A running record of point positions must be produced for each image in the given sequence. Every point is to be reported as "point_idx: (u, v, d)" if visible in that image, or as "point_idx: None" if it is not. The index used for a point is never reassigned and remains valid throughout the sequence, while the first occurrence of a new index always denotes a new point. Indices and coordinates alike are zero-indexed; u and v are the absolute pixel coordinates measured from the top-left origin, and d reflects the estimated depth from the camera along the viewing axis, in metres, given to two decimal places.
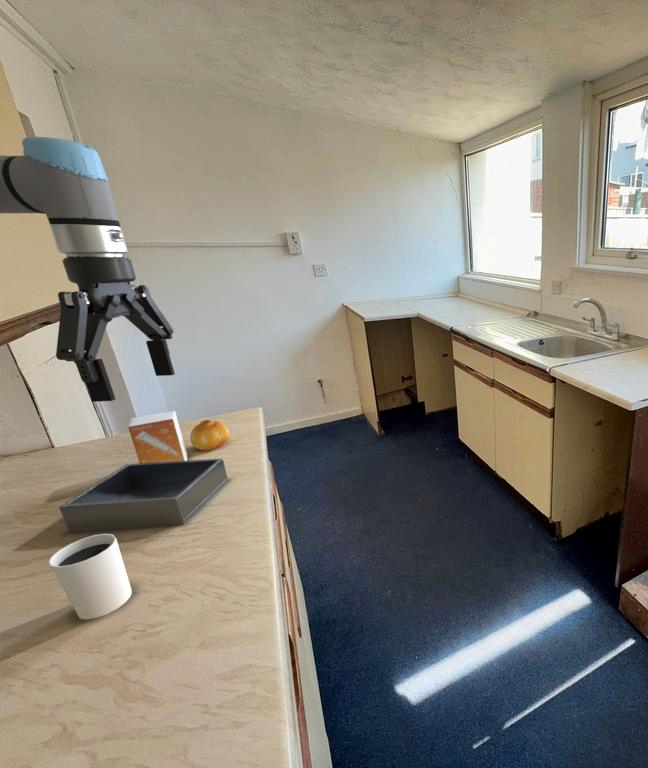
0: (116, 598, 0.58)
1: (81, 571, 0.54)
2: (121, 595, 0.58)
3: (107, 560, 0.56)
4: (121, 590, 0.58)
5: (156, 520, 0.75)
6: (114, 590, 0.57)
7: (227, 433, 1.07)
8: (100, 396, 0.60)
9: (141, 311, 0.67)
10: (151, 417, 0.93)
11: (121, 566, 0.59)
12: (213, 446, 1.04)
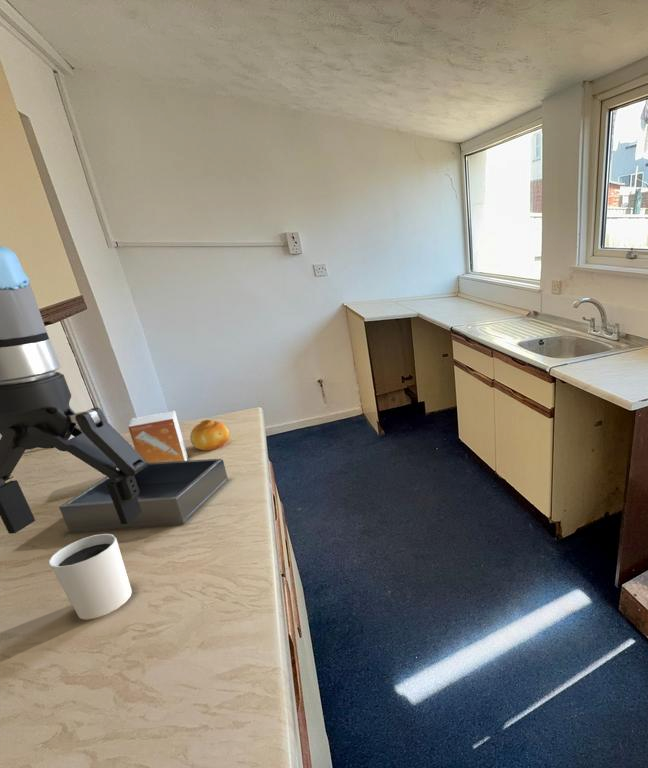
0: (116, 598, 0.58)
1: (81, 571, 0.54)
2: (121, 595, 0.58)
3: (107, 560, 0.56)
4: (121, 590, 0.58)
5: (156, 520, 0.75)
6: (114, 590, 0.57)
7: (227, 433, 1.07)
8: None
9: (60, 447, 0.50)
10: (151, 417, 0.93)
11: (121, 566, 0.59)
12: (213, 446, 1.04)
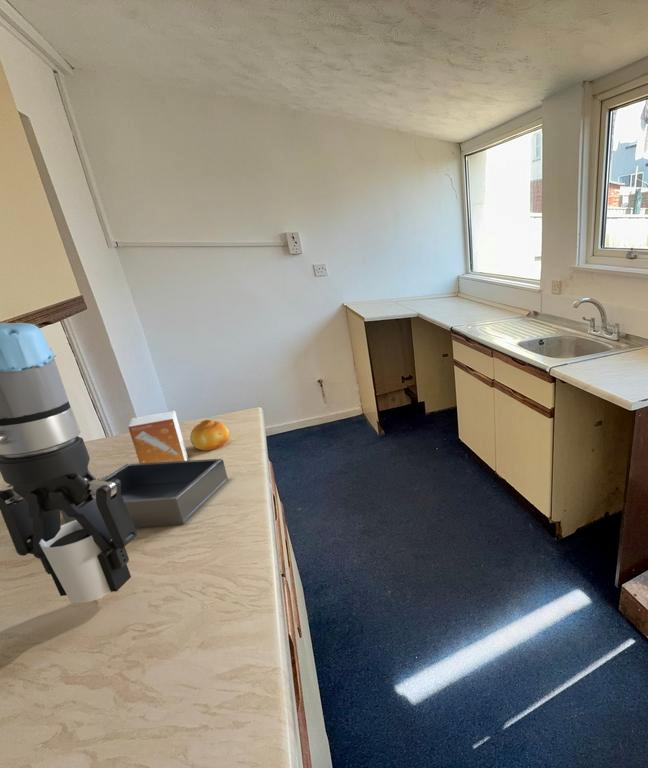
0: None
1: (72, 553, 0.53)
2: None
3: None
4: None
5: (156, 520, 0.75)
6: None
7: (227, 433, 1.07)
8: None
9: (70, 514, 0.52)
10: (151, 417, 0.93)
11: None
12: (213, 446, 1.04)
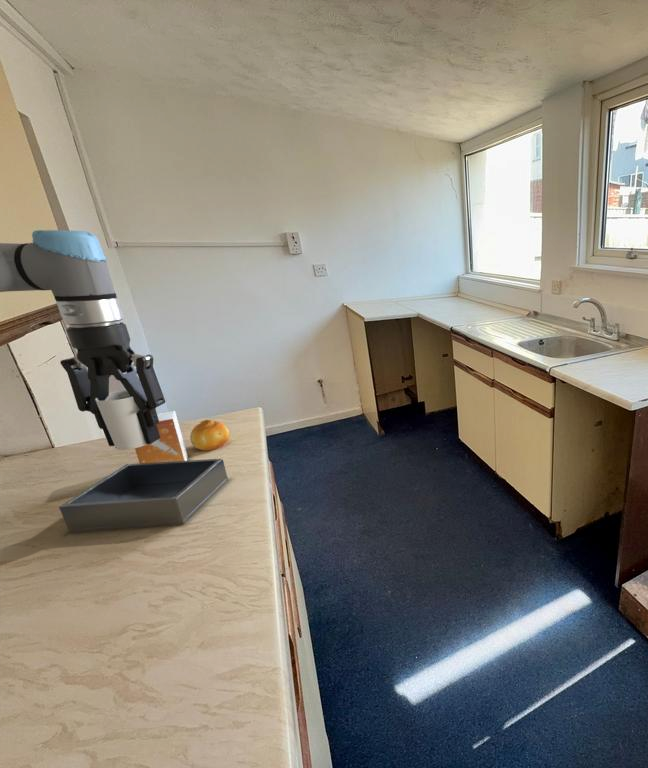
0: None
1: (119, 407, 0.72)
2: None
3: None
4: None
5: (156, 520, 0.75)
6: None
7: (227, 433, 1.07)
8: None
9: (117, 377, 0.71)
10: None
11: None
12: (213, 446, 1.04)
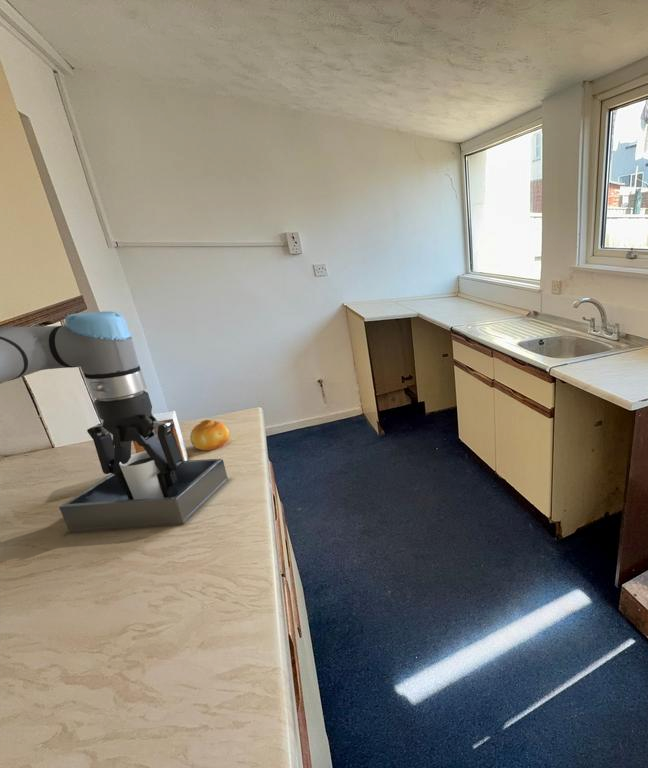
0: None
1: (141, 471, 0.77)
2: None
3: None
4: None
5: (156, 520, 0.75)
6: None
7: (227, 433, 1.07)
8: None
9: (140, 443, 0.76)
10: None
11: None
12: (213, 446, 1.04)
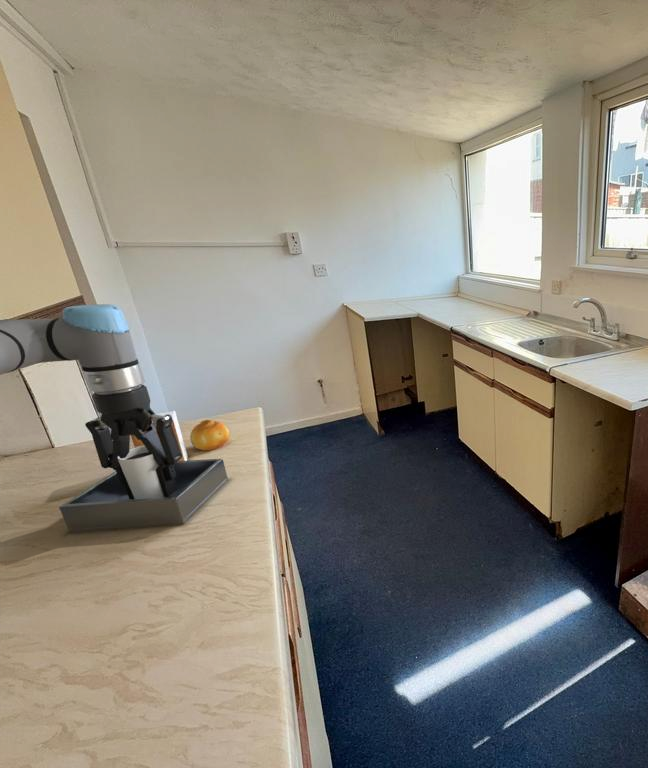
0: None
1: (140, 465, 0.77)
2: None
3: None
4: None
5: (156, 520, 0.75)
6: None
7: (227, 433, 1.07)
8: None
9: (138, 437, 0.76)
10: None
11: None
12: (213, 446, 1.04)
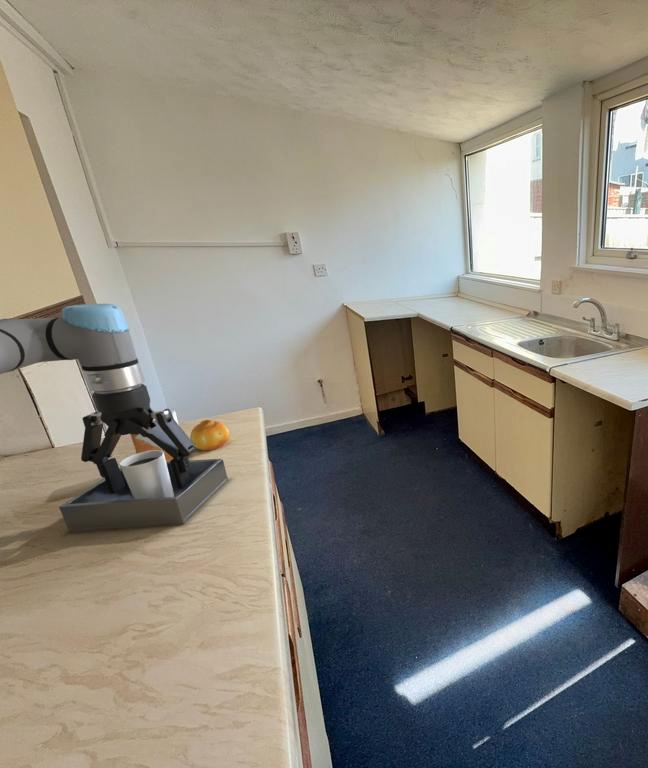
0: (164, 495, 0.81)
1: (141, 471, 0.77)
2: (167, 493, 0.81)
3: (158, 466, 0.79)
4: (167, 490, 0.81)
5: (156, 520, 0.75)
6: (163, 489, 0.80)
7: (227, 433, 1.07)
8: None
9: (143, 434, 0.76)
10: None
11: (167, 473, 0.82)
12: (213, 446, 1.04)
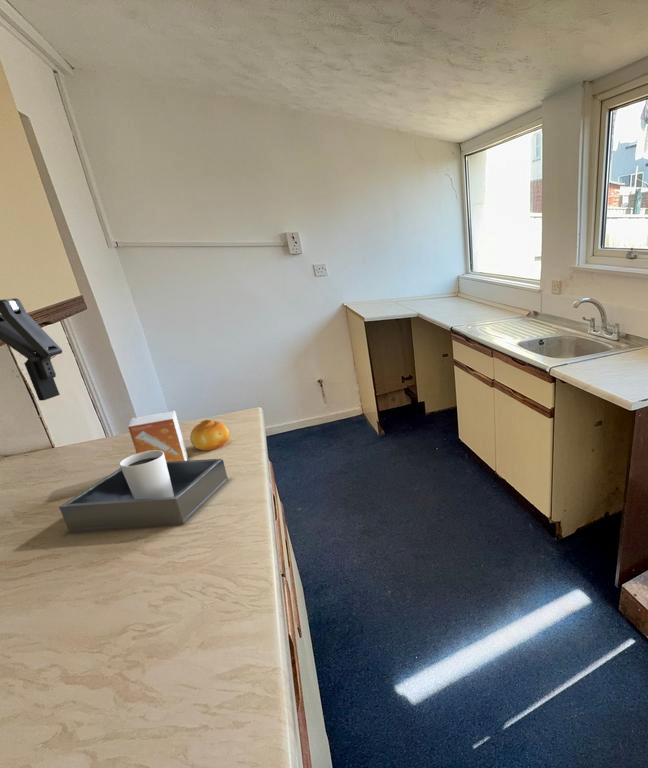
0: (164, 495, 0.81)
1: (141, 471, 0.77)
2: (167, 494, 0.81)
3: (158, 466, 0.79)
4: (167, 490, 0.81)
5: (156, 520, 0.75)
6: (163, 489, 0.80)
7: (227, 433, 1.07)
8: None
9: None
10: (151, 417, 0.93)
11: (167, 473, 0.82)
12: (213, 446, 1.04)
